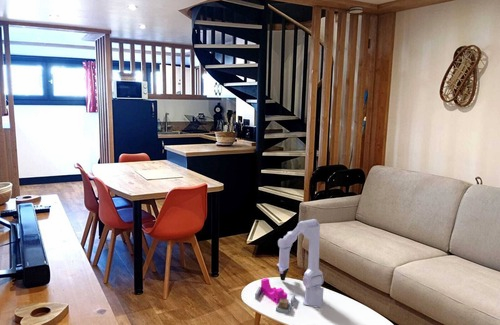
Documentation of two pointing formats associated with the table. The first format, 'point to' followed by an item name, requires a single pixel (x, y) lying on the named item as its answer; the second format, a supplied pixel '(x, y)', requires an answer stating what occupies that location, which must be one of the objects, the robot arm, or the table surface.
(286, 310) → the jig
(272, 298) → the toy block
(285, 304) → the walnut cube
